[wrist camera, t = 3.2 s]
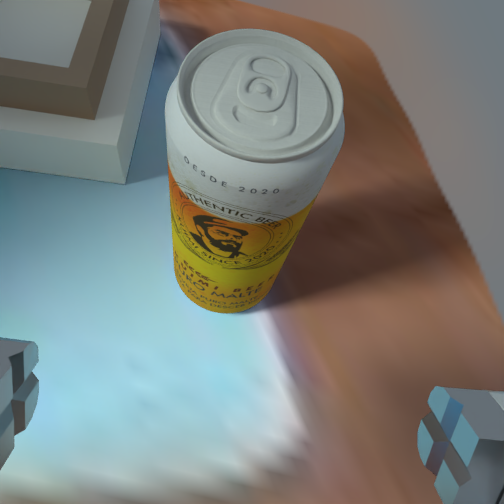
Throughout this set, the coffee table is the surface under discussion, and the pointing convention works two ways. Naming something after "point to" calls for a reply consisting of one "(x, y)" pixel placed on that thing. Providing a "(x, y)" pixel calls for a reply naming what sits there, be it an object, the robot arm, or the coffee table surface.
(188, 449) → the coffee table surface
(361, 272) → the coffee table surface
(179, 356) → the coffee table surface
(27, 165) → the display plinth
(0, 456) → the robot arm
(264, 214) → the beer can
